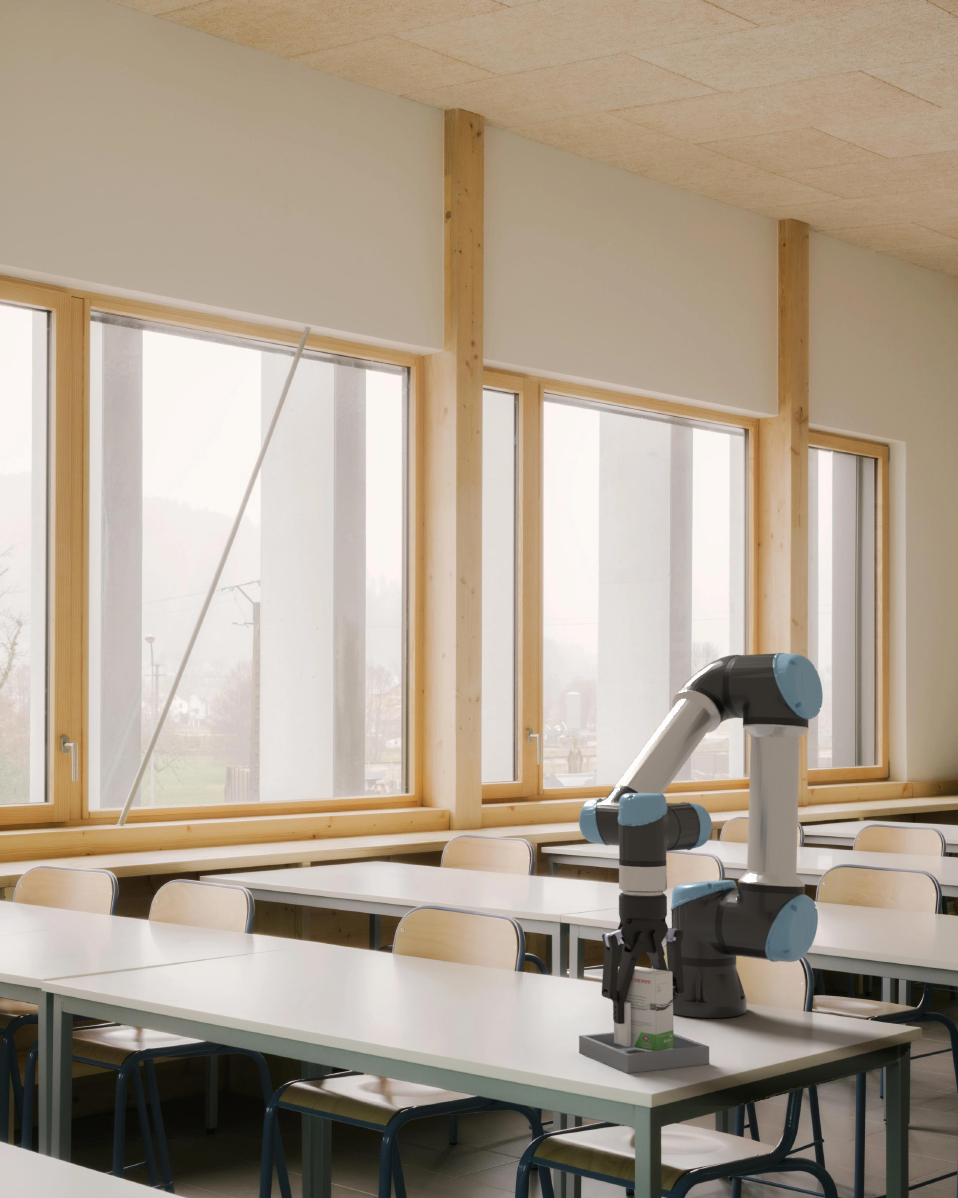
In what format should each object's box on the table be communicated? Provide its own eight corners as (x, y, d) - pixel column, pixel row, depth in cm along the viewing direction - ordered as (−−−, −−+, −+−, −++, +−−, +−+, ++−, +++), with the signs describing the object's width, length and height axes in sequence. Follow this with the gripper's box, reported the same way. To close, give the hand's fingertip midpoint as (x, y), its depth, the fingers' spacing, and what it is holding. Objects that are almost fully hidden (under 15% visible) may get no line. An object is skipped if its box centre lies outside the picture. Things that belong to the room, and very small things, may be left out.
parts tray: (657, 1044, 229) (657, 1027, 229) (709, 1064, 216) (709, 1046, 216) (579, 1052, 222) (579, 1035, 223) (627, 1073, 209) (627, 1055, 210)
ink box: (675, 1048, 218) (675, 970, 219) (656, 1053, 214) (656, 973, 216) (631, 1039, 224) (631, 963, 225) (611, 1044, 220) (611, 966, 222)
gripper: (681, 887, 229) (682, 1032, 227) (577, 892, 221) (577, 1043, 219) (707, 892, 222) (708, 1042, 220) (601, 898, 214) (602, 1053, 212)
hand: (643, 1042), depth 219 cm, fingers closed on ink box, 6 cm apart
